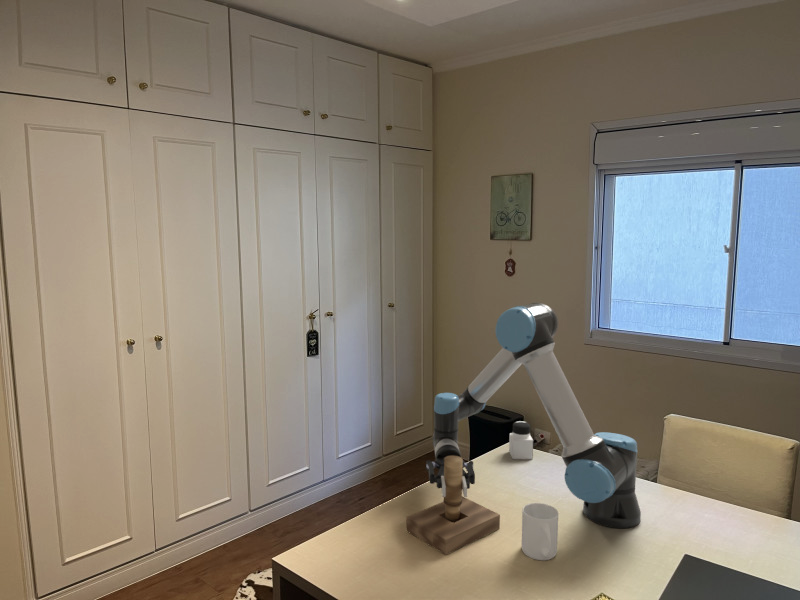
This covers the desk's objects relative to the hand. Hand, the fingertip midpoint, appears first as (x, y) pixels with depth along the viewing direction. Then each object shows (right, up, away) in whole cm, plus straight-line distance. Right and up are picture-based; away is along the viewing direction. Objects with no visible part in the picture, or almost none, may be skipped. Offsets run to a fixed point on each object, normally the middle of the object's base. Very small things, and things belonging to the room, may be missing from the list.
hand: (454, 491), depth 148 cm
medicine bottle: (+29, -7, +58) cm, 65 cm away
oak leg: (0, -9, +6) cm, 11 cm away
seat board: (0, -12, +7) cm, 14 cm away
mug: (+21, -14, -5) cm, 26 cm away
